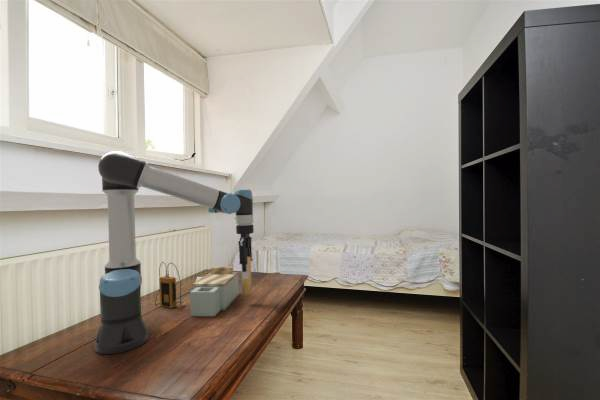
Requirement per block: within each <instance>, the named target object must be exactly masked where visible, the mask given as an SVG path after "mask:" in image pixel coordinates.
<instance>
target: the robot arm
mask: <svg viewBox="0 0 600 400" xmlns="http://www.w3.org/2000/svg"><path fill="white" fill-rule="evenodd" d="M97 167H98V172H99V175H100V176H101V184H102V185H101V186H102V188H101V189H102V192H103V193H104V194H105V195H106V196H107V219H108V221H107V222H108V224H107V225H108V253H109V254H108V257H109V259H108V262H106V264H105V265H104V274H103V275H102V276H101V277H100V279H99V284H98V290H99V304H100V305H99V306H100V308H99V309H100V327H99V329H98V332H97V334H96V339H95V340H94V341H95V343H94V346H95V347H94V350H95V352H96V353H98V354H100V355H101V354H102V355H113V354H121V353H124V352H128V351H132V350H133V349H136V348H138V347H139V346H142V345H144V343H146V341H147V340H148V338H149V337H148V334H149V333H148V329H147V327H146V324H145V321H144V319H143V317H142V301H141V298H142V297H141V296H142V295H141V292H142V291H141V289H142V282H143V278H142V268H141V265H142V264H141V261H140V260H139V259H138V258H137V250H136V249H137V248H136V246H137V245H136V216H135V213H136V211H135V195H136V194H137V193H138V192H139V189H140V188H141V187H142V188H145V189H149V190H151V191H155V192H158V193H161V194H164V195H168V196H171V197H174V198H176V199H180V200H183V201H186V202H187V201H188V202H190V203H193V204H196V205H199V206H203V207H206V210H207V212H208V213H211V214H212V213H213V214H218V213H222V214H228V215H231V214H234V213H235V217H234V219H235V224H236V227H235V229H236V230H235V232H236V235H240V238H239V241H238V242H237V243H238V251H239V255H238V256H239V265H240V266H241V280H242V279H248V278H249V277H248V264H247V256H248V257H250V259H251V262H253V255H252V253H253V252H252V239H253V238H252V236H250V235H251V234H253V233H254V231H255V229H254V213H253V212H254V209H253V208H254V207H253V205H254V204H253V203H254V201H253V200H254V198H253V193H252V190H251V189H235V190H234V194H233V193H232V192H231V193H228V192H225V191H223V190H219V189H217V188H214V187H211V186H208V185H205V184H202V183H199V182H196V181H193V180H191V179H189V178H188V179H187V178H184V177H183V176H179V175H177V174H173V173H171V172H168V171H164V170H163V169H160V168H156V167H153V166H150V164H149V162H148V161H145V160H142V159H140V158H137V157H135V156H133V155H130V154H129V153H126V152H123V151H120V150H115V151H110V152H107V153H106V154H104V155H103V156H101V158H100V159H99V161H98V166H97Z"/></svg>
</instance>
